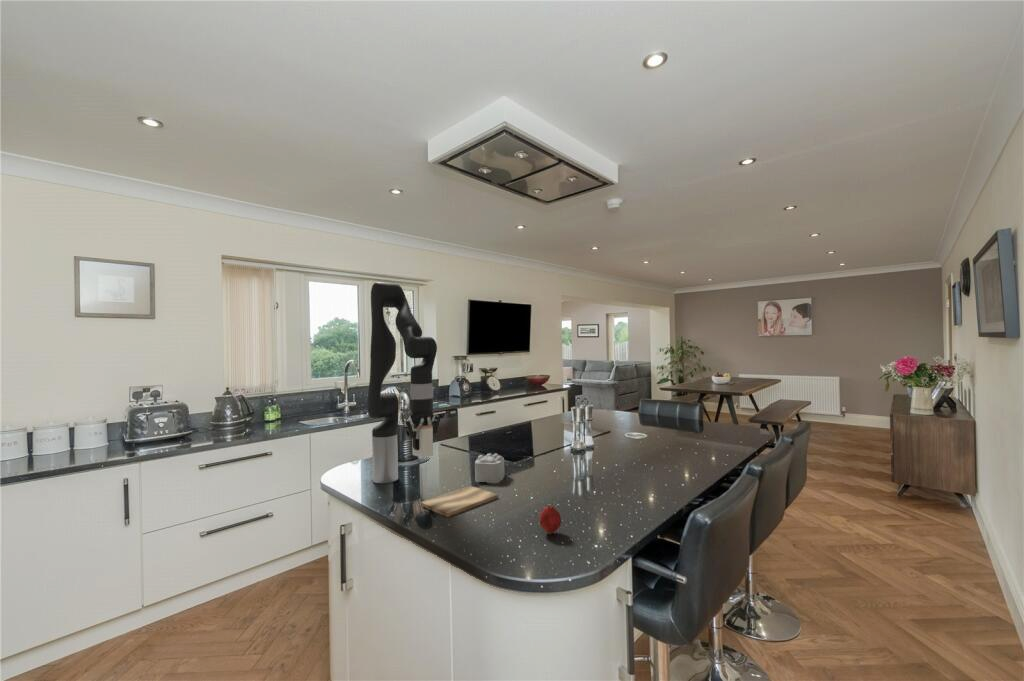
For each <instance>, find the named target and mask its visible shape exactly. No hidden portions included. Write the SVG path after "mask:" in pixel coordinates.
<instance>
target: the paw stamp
mask: <svg viewBox="0 0 1024 681" xmlns="http://www.w3.org/2000/svg"><path fill="white" fill-rule="evenodd" d="M503 478H504V479H505V458H504V457H503V456H502V455H499V454H498V453H494V454H492V453H491V452H489V453H487V454H486V455H483V454H479V455H478V457H477V458H476V460H475V461H474V479H475V480H474V481H475V482H476V483H479V482H487V484H499V483H501V482H502V481H503V480H504V479H503ZM501 480H502V481H501ZM500 481H501V482H500Z"/></svg>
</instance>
